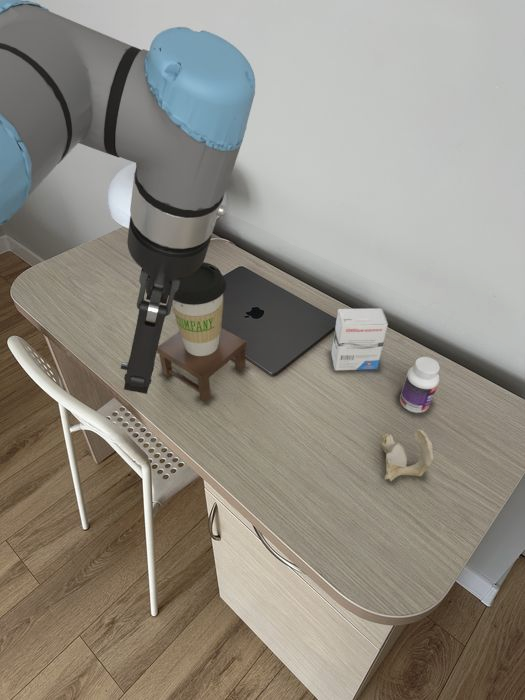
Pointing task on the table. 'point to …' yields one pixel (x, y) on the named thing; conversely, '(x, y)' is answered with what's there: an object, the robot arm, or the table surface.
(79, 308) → the table surface
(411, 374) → the pill bottle
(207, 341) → the coffee cup
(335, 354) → the ink box
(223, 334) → the small brown wooden table
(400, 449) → the bone
